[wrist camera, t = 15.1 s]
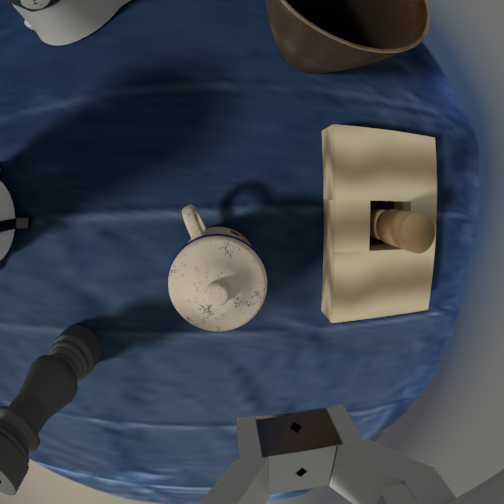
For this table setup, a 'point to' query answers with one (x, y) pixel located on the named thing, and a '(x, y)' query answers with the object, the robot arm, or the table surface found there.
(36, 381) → the candle holder
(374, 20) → the plant pot
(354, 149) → the block
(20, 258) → the table surface
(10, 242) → the coffee press
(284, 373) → the table surface
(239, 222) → the table surface
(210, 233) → the teacup with lid
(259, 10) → the table surface
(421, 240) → the peg
